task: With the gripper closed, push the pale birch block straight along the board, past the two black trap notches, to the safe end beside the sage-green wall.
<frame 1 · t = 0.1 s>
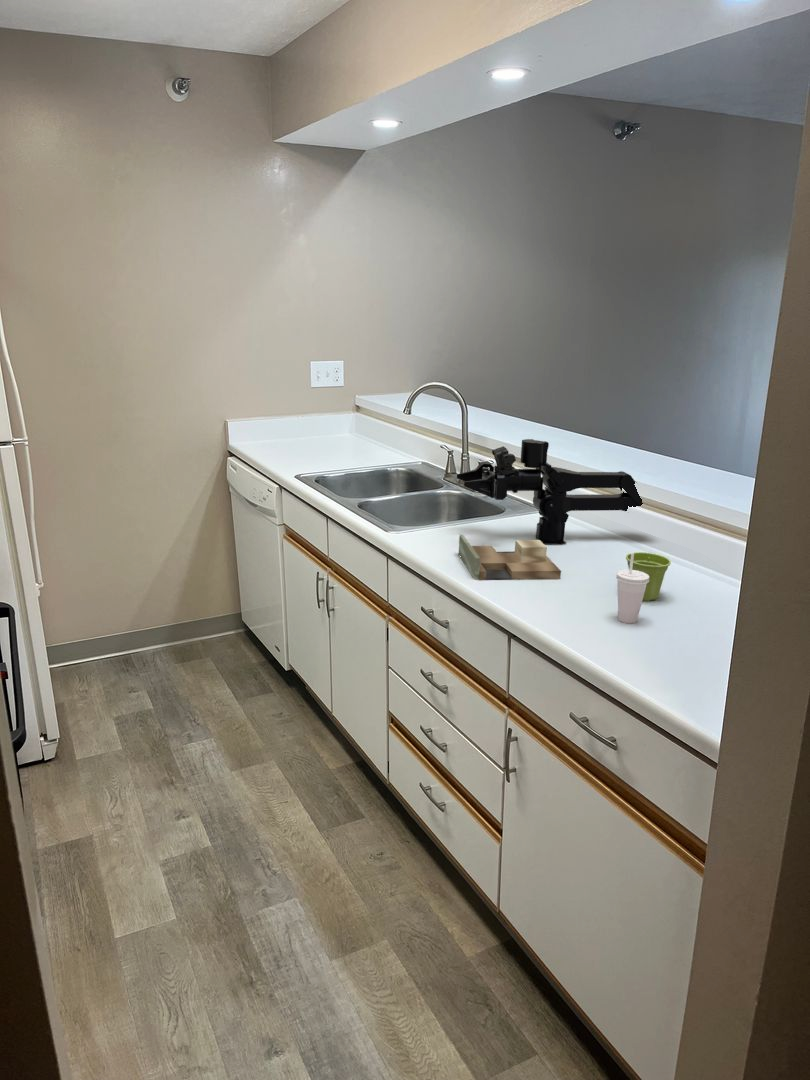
hand: (460, 480, 207), 17 cm above the worktop, fingers open, 9 cm apart
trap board: (509, 565, 194), on the worktop
smoothie: (627, 620, 163), on the worktop
plant pot: (643, 597, 177), on the worktop
birch block: (529, 557, 194), point 2 cm above the worktop, touching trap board
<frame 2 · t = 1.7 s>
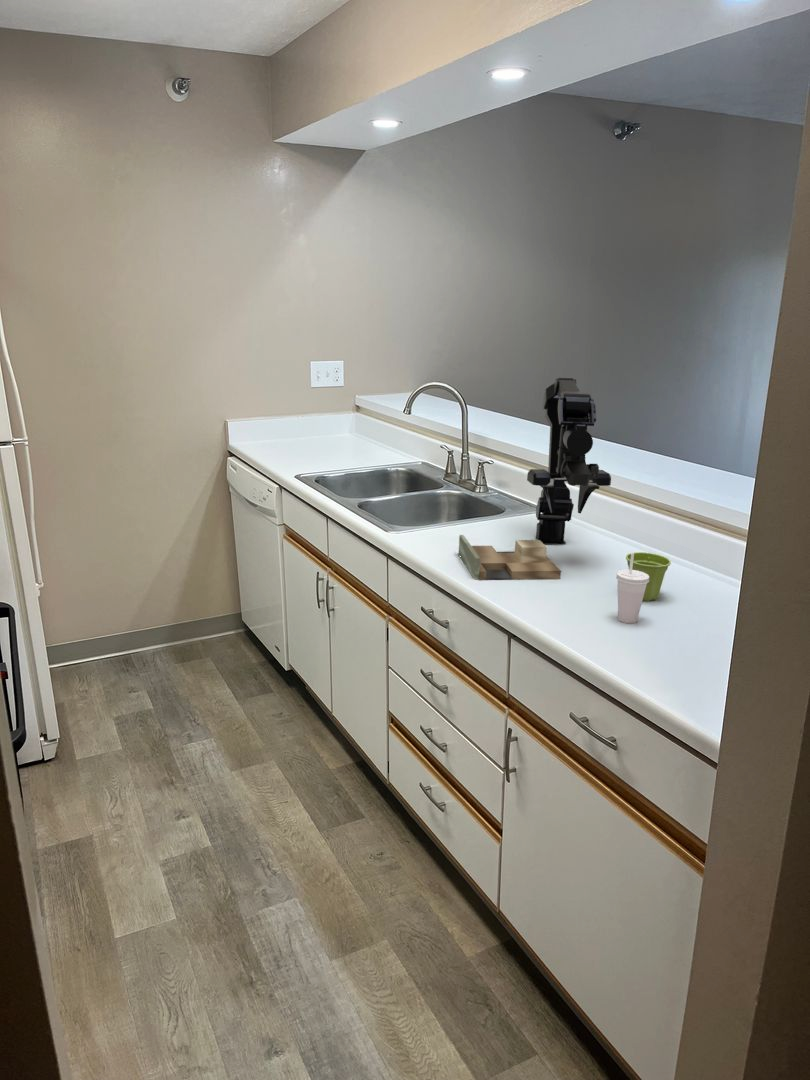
hand: (565, 513, 192), 13 cm above the worktop, fingers open, 6 cm apart
nothing on the worktop moved.
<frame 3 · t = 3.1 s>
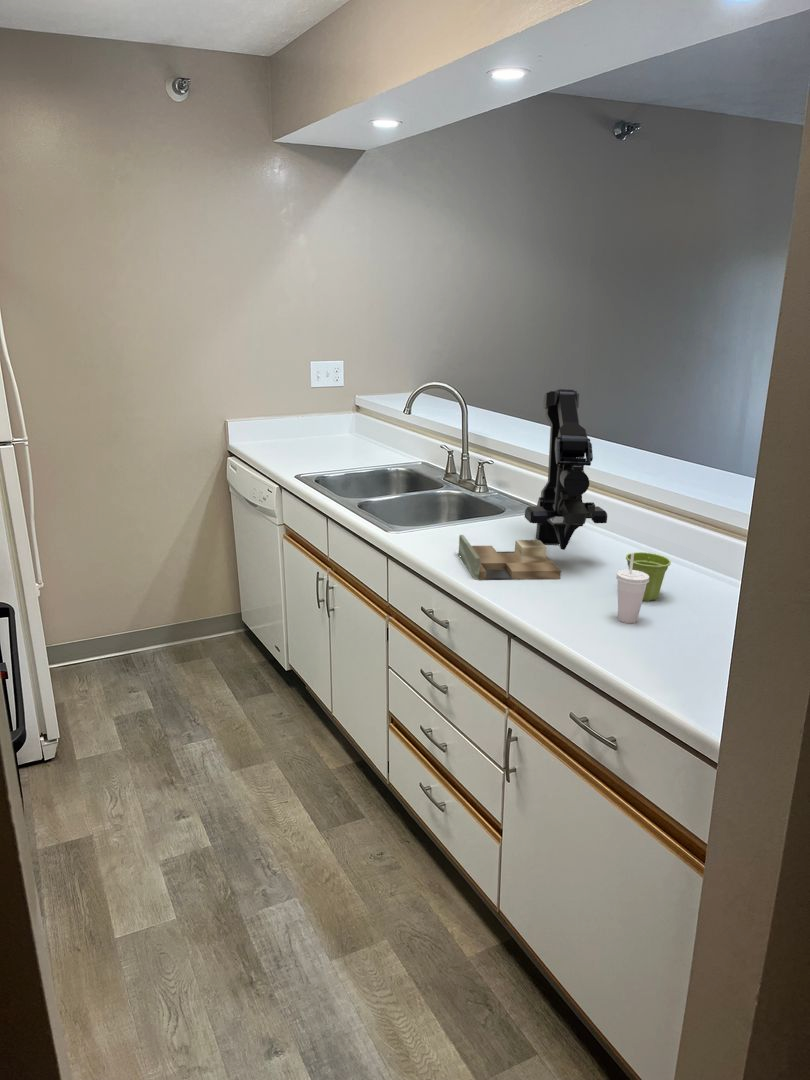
hand: (562, 549, 195), 4 cm above the worktop, fingers closed
nothing on the worktop moved.
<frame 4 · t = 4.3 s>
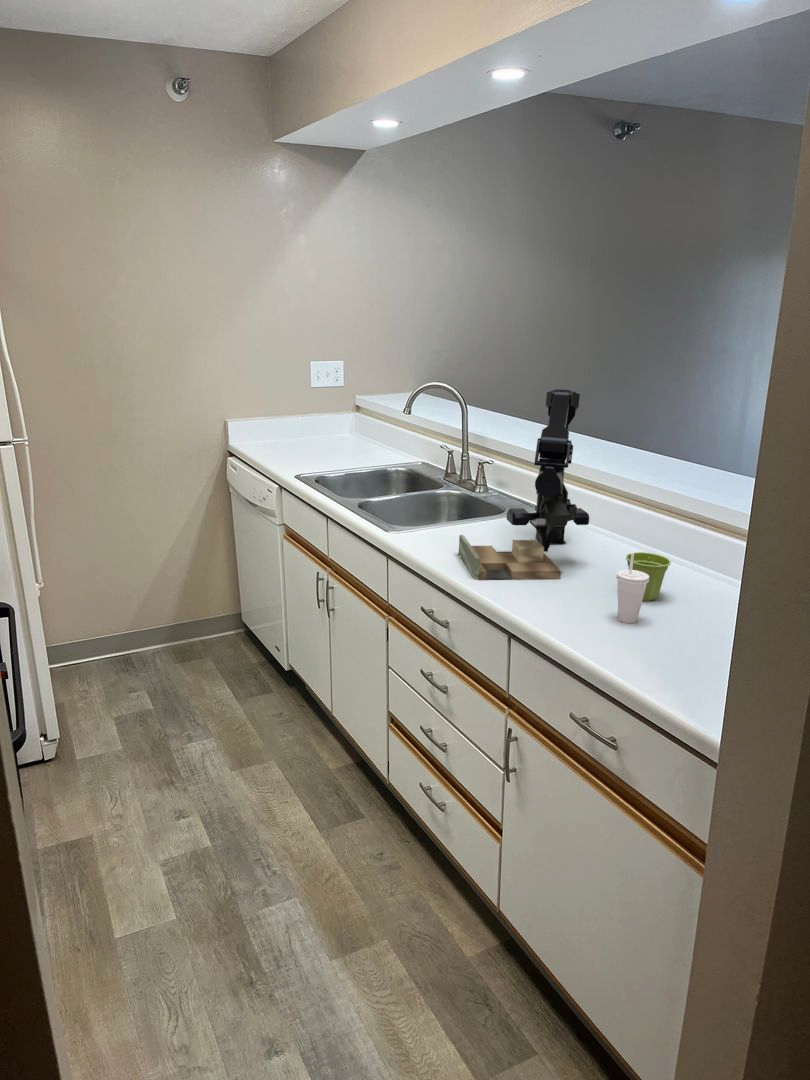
hand: (544, 551, 194), 4 cm above the worktop, fingers closed
birch block: (527, 557, 194), point 2 cm above the worktop, touching gripper
everything else where it was.
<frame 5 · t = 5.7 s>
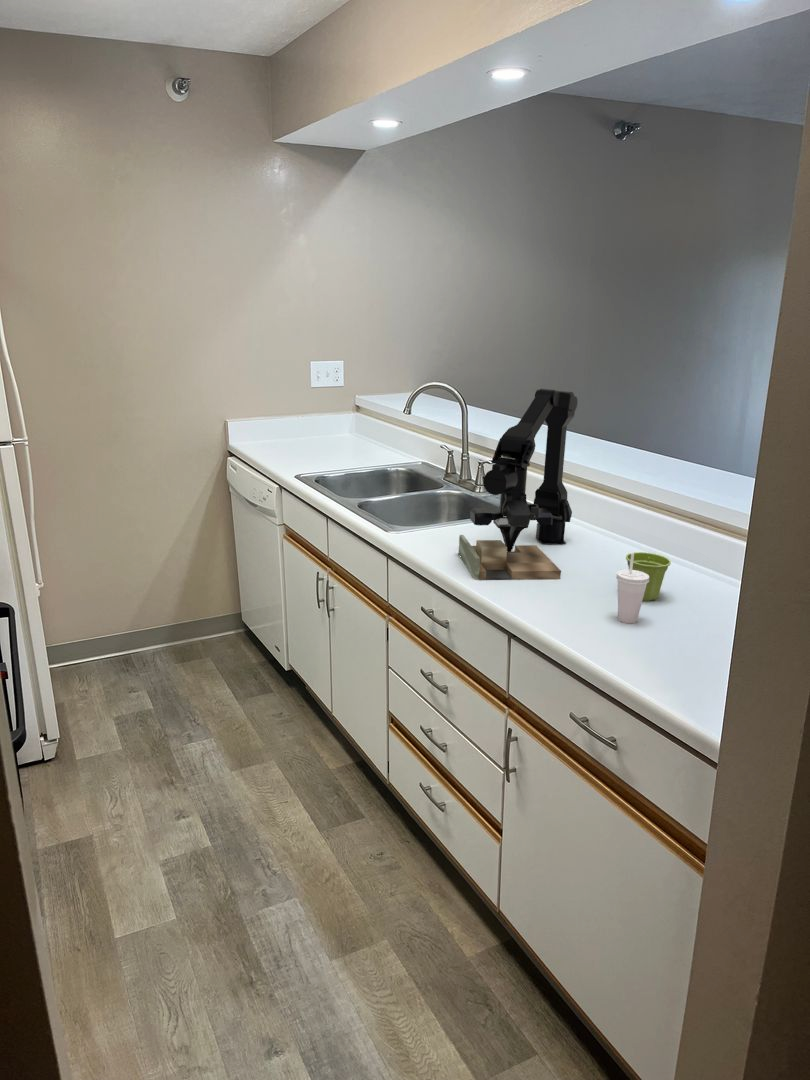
hand: (508, 551, 193), 4 cm above the worktop, fingers closed
birch block: (490, 557, 193), point 2 cm above the worktop, touching gripper, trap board
everything else where it was.
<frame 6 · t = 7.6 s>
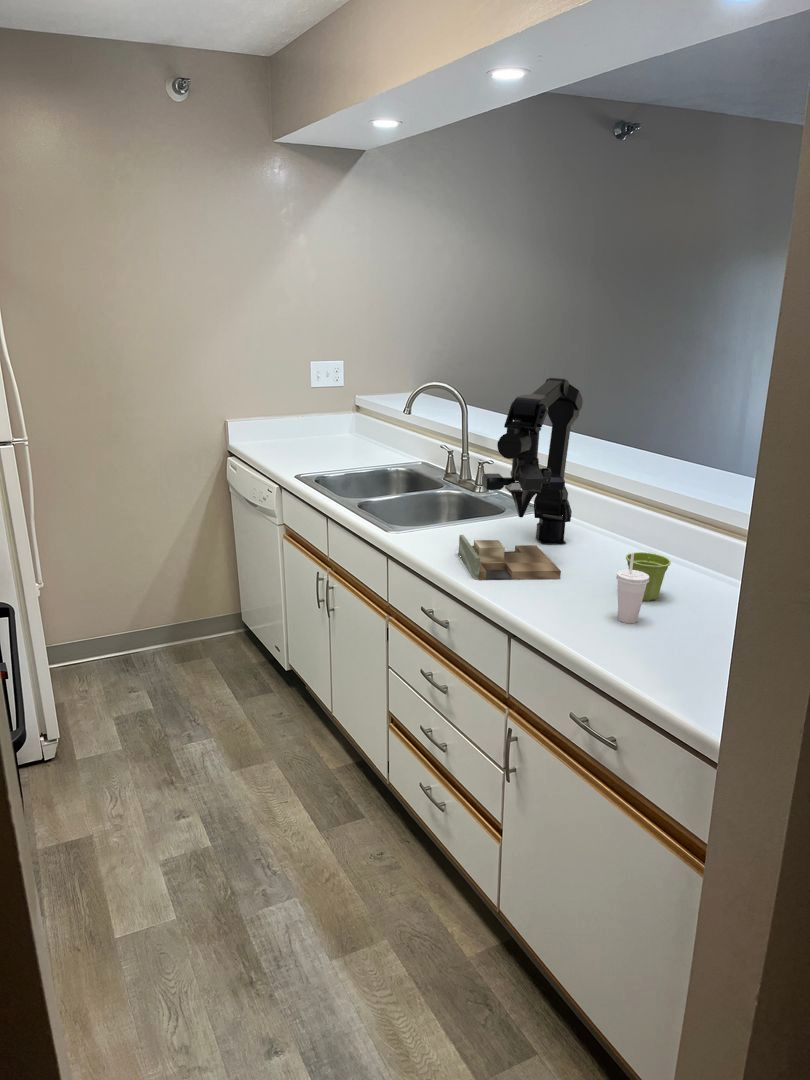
hand: (520, 517, 192), 12 cm above the worktop, fingers closed
birch block: (488, 557, 193), point 2 cm above the worktop, touching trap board
everything else where it was.
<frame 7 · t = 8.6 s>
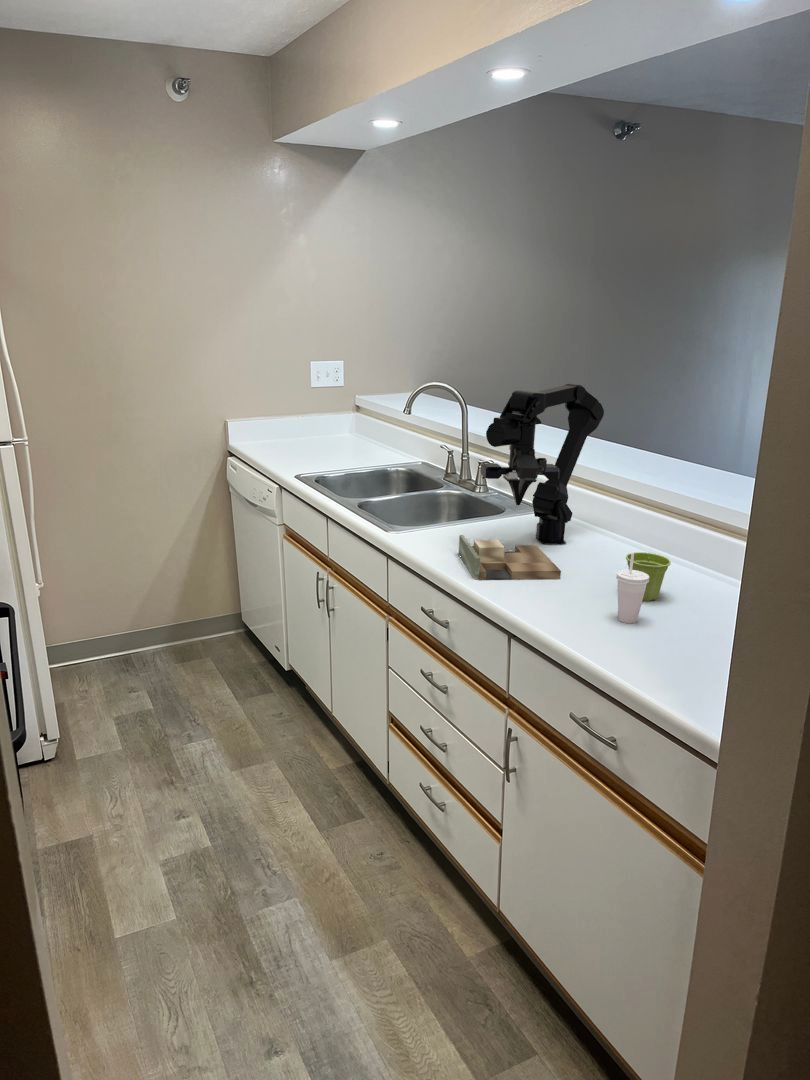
hand: (517, 504, 203), 12 cm above the worktop, fingers closed
nothing on the worktop moved.
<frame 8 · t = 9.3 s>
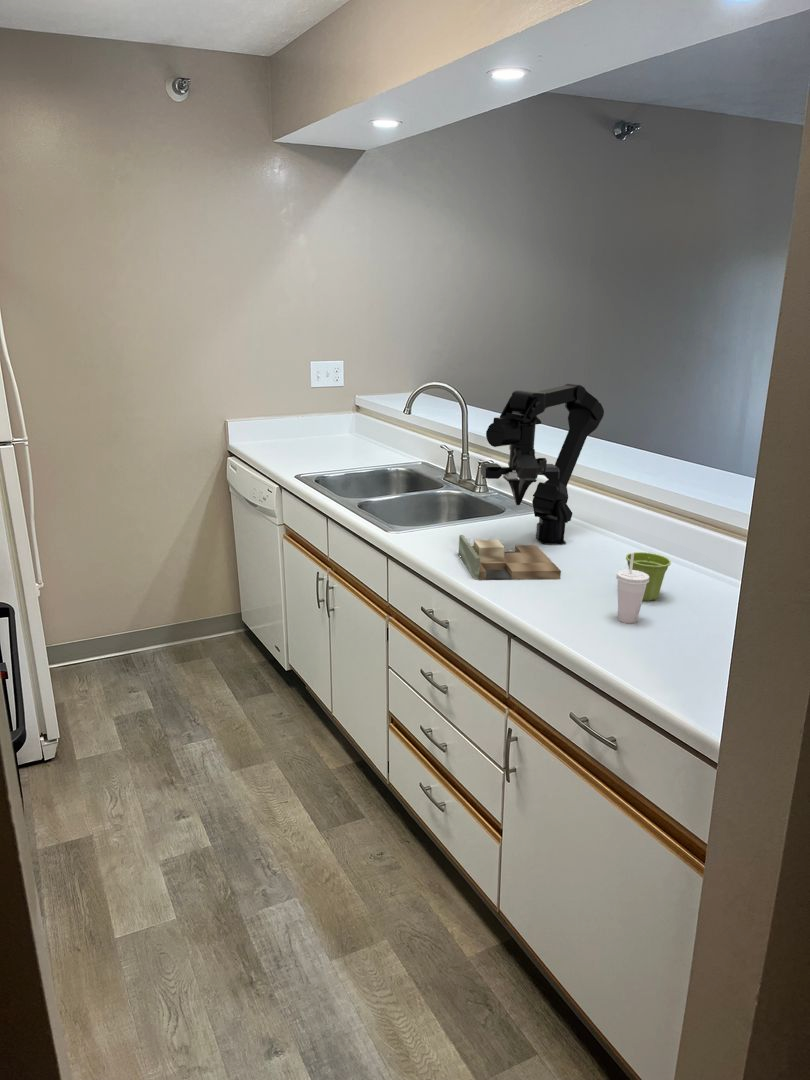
hand: (517, 504, 203), 12 cm above the worktop, fingers closed
nothing on the worktop moved.
at the end: birch block 0.8 cm from the target spot on the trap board, point 2.0 cm above the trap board's base; birch block tilted 0° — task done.
